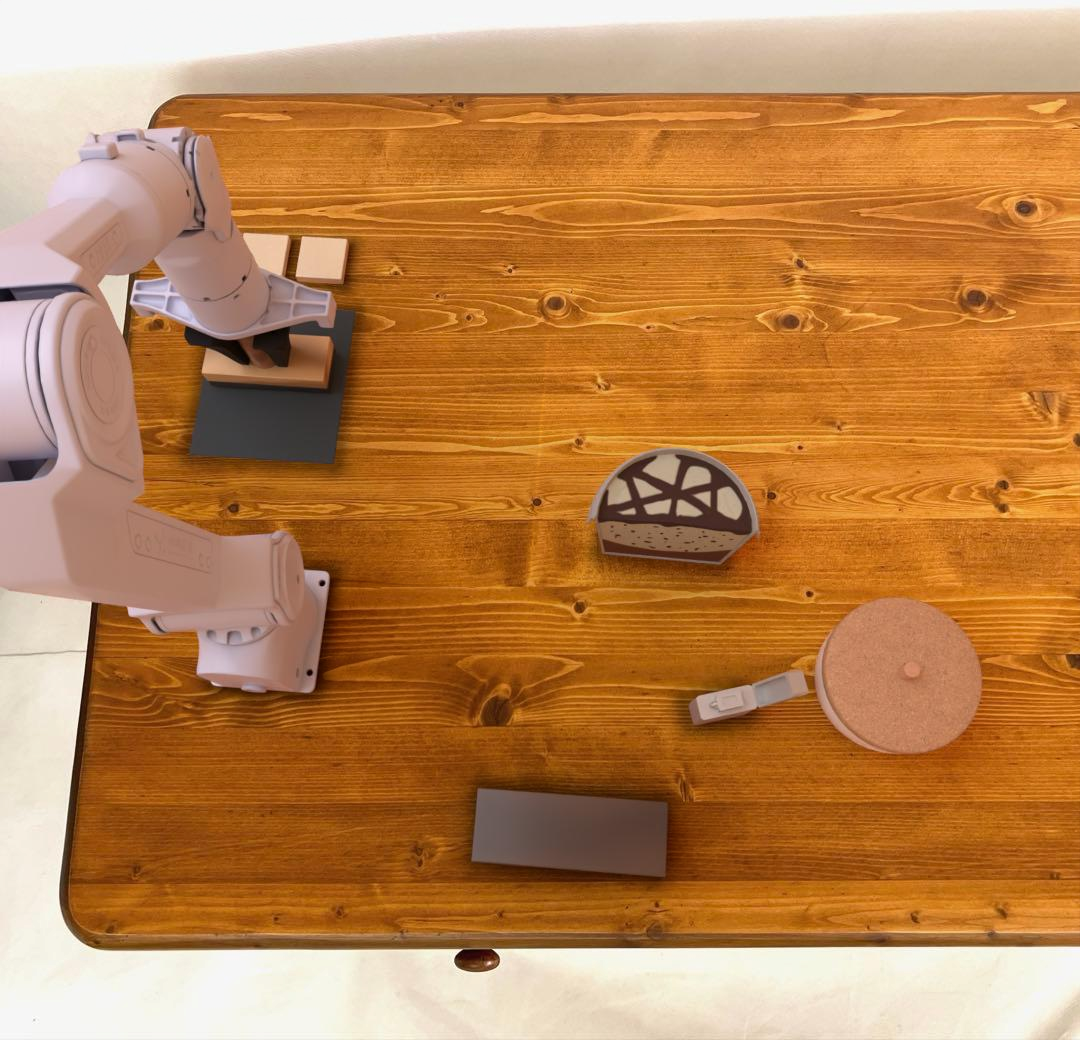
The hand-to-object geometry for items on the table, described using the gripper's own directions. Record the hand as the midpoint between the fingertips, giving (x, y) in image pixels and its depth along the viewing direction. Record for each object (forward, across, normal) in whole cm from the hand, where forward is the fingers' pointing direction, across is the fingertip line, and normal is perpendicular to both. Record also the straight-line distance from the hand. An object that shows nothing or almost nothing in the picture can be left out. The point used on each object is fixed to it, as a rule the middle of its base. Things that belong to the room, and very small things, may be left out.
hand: (266, 355), depth 80 cm
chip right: (+3, -3, -10) cm, 11 cm away
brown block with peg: (+2, 0, 0) cm, 2 cm away
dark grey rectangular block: (+3, -27, +35) cm, 44 cm away
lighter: (+3, -39, +25) cm, 46 cm away
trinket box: (+3, -49, +23) cm, 54 cm away
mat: (+3, 0, +1) cm, 3 cm away
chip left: (+3, +2, -10) cm, 11 cm away
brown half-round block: (+3, -33, +11) cm, 35 cm away
